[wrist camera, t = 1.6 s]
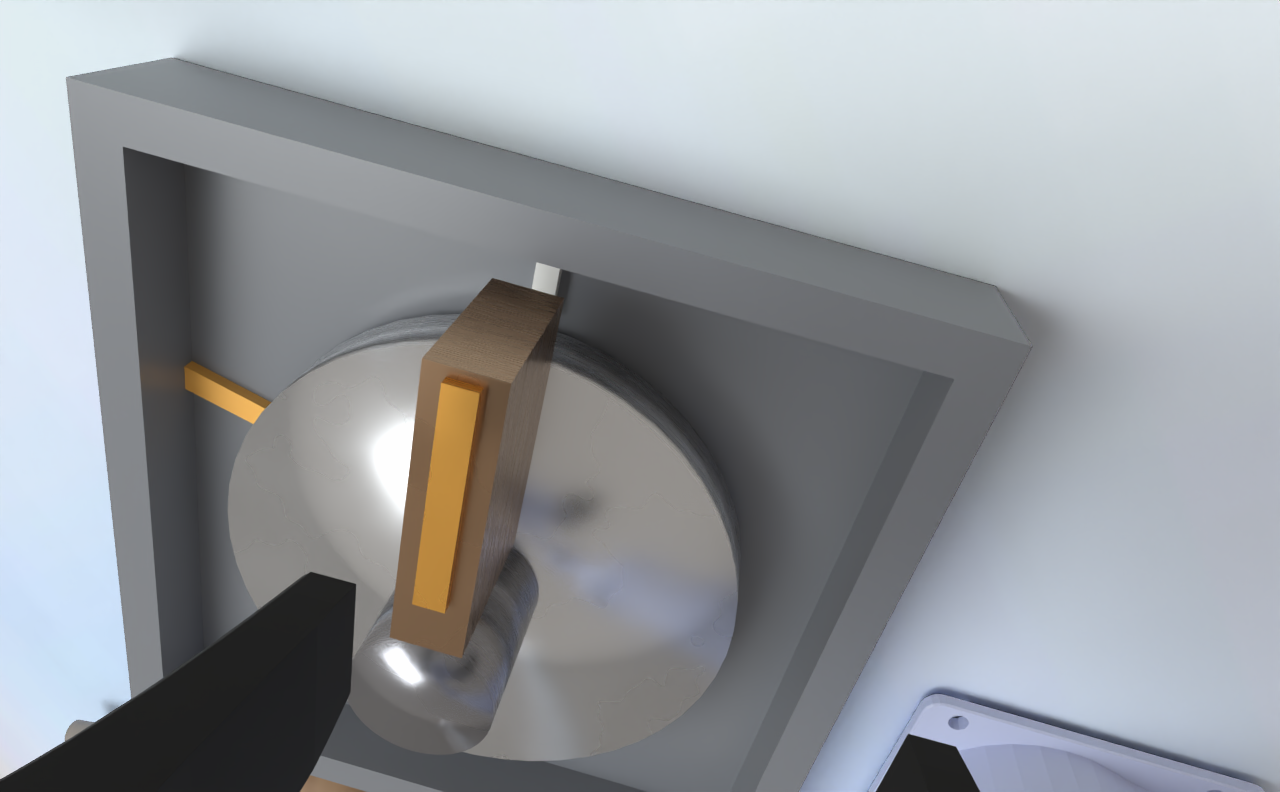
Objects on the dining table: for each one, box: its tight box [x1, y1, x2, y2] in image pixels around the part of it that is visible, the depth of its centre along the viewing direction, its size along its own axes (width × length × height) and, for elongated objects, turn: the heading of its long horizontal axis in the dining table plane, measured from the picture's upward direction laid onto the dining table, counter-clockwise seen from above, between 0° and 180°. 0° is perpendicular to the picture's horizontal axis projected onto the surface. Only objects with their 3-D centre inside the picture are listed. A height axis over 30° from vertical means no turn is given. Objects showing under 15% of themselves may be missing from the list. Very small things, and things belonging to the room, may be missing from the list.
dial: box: [228, 278, 741, 761], centre depth 18 cm, size 14×12×5 cm
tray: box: [66, 58, 1032, 792], centre depth 21 cm, size 18×18×3 cm
